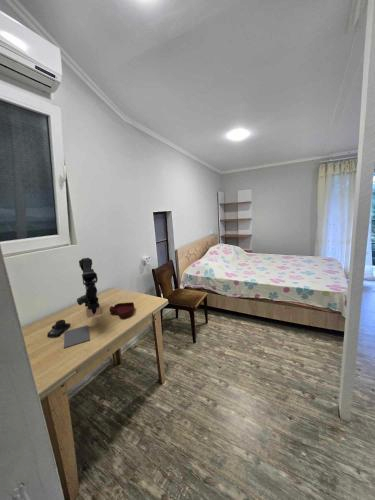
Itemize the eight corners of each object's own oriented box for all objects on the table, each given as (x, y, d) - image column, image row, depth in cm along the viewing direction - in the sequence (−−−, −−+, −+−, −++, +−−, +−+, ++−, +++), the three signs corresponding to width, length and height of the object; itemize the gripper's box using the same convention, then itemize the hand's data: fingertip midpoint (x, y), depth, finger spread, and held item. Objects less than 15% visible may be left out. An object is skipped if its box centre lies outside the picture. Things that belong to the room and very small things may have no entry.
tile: (87, 316, 132) (85, 308, 131) (100, 313, 136) (99, 305, 135) (87, 318, 131) (86, 309, 130) (100, 314, 134) (99, 306, 133)
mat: (64, 332, 127) (64, 331, 127) (87, 326, 133) (87, 325, 133) (64, 348, 112) (63, 347, 112) (90, 340, 118) (90, 339, 118)
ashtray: (141, 311, 151) (141, 305, 150) (123, 321, 138) (122, 314, 137) (126, 305, 162) (126, 299, 161) (107, 314, 149) (107, 307, 148)
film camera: (56, 330, 120) (43, 324, 122) (55, 341, 121) (42, 335, 123) (74, 319, 132) (62, 314, 135) (73, 330, 134) (61, 324, 136)
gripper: (76, 288, 134) (79, 311, 137) (77, 298, 118) (80, 323, 121) (94, 285, 140) (97, 306, 142) (98, 294, 124) (101, 318, 126)
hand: (94, 313), depth 133 cm, fingers closed on tile, 2 cm apart
